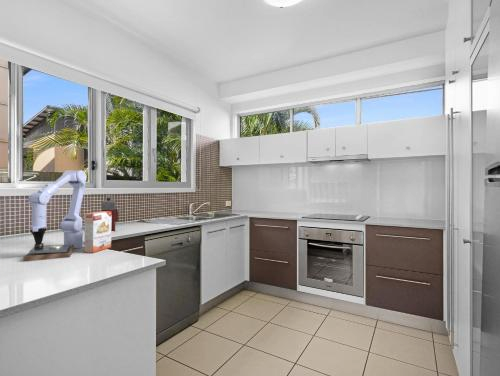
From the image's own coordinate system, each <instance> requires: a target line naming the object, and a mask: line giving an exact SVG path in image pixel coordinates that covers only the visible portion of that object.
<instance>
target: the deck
mask: <svg viewBox="0 0 500 376" xmlns="http://www.w3.org/2000/svg"><path fill="white" fill-rule="evenodd" d="M70 247H71V245H64V244H44V242H42V243H41V244H36V243H34V245H33V247H32V248H31V249H30V250H29V252H28V253H57V252H67V251H68V250H69V248H70Z"/></svg>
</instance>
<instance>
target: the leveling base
mask: <svg viewBox="0 0 500 376" xmlns="http://www.w3.org/2000/svg"><path fill="white" fill-rule="evenodd" d="M74 250H75V248H74V245H72V246H71V247H70V248H69V250H68V251H67V252H57V253H29V252H28V253H27V254H26V255H24V256H23V262H30V261H31V262H33V261H43V260H54V259H55V260H56V259H65V258H70V257H71V256H72V254H73V252H74Z"/></svg>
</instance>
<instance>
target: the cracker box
mask: <svg viewBox="0 0 500 376" xmlns="http://www.w3.org/2000/svg"><path fill="white" fill-rule="evenodd" d="M111 223H112V212H110V211H102V210H101V211H96V212H94V211H93V212H87V213H84V233H83V241H84V244H83V248H84V250H83V251H84V253H88V254H93V253H94V254H95V253H97V252H101V251H104V250H107V249H110V248H112V232H111Z"/></svg>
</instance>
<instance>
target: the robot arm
mask: <svg viewBox="0 0 500 376" xmlns="http://www.w3.org/2000/svg"><path fill="white" fill-rule="evenodd" d="M87 176H88V175H87V173H86V172H85V171H84V170H81V169H80V170H69V169H68V170H65V171H64V172H63V173H62V174H61V175H60V177H58V178H57V179H56V180H55V181H54V182H52V183H46V184H45V185H44V186H43V187H42V188H40V189H38V191H37V192H32V193H31V194H30V195H29V197H28V202H29V203H30V207H31V225H29V226H28V228H31V230H30V232H31V235H32V236H33V239H34V244H41V243H43V240H44V235H45V233H46V231H47V228H46V227H47V204H48V203H49V202H50V199H51V198H52V197H54V195H55V194H57V193H58V192H59V188H61V187H62V186H64V185H66V184H67V183H68V184H69V185H70V186H72V187H73V189H72V194H71V199H70V203H69V208H68V213H67V214H66V215H64V216H63V218H62V221H61V222H60V225H59V227H60V228H59V229H60V230H61V231H62V233H63V245H71V246H72V245H74V249H82V248H84V232H83V231H81V230H82V229H83V218H82V217H81V216H80V212H81V209H82V202H83V198H84V194H85V189H86V182H87V178H88V177H87Z"/></svg>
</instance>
